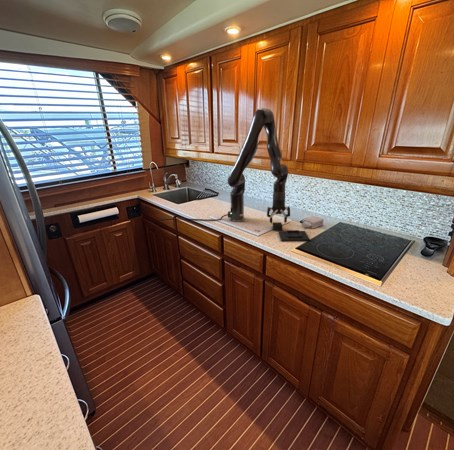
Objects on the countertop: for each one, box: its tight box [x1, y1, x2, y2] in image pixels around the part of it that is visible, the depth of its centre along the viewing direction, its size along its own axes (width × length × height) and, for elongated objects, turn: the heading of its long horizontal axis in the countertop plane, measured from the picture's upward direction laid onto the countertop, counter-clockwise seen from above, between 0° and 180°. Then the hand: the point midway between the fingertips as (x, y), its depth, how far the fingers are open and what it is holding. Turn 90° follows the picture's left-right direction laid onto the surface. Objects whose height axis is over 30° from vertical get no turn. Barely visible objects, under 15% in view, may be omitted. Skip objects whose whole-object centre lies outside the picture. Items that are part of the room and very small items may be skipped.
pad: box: [272, 221, 283, 232], centre depth 152 cm, size 6×6×4 cm
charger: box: [301, 215, 324, 229], centre depth 155 cm, size 5×9×15 cm
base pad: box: [278, 229, 311, 242], centre depth 141 cm, size 16×12×2 cm
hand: (278, 222), depth 151 cm, fingers open, 8 cm apart
